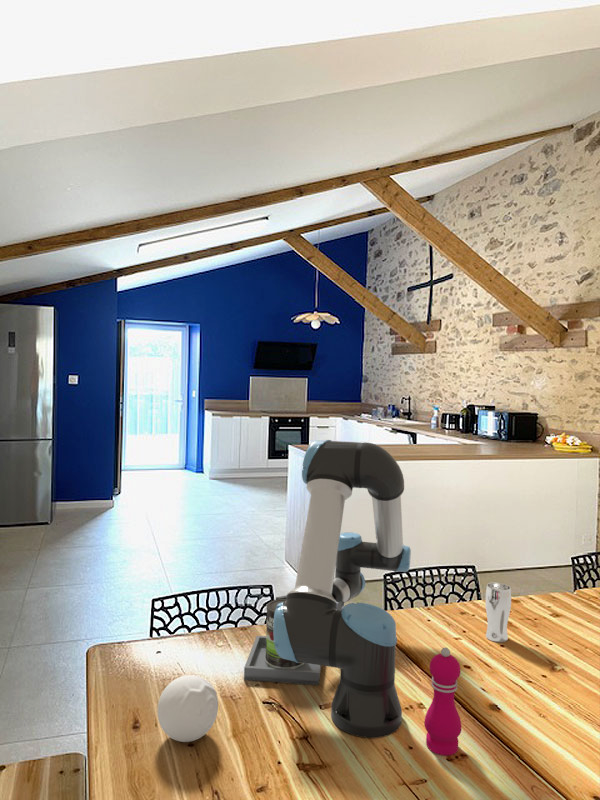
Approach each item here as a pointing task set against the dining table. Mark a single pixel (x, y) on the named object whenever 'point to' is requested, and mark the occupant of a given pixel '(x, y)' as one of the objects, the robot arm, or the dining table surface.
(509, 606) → the beer glass
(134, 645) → the dining table surface
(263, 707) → the dining table surface
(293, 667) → the coffee can
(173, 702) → the decorative ball
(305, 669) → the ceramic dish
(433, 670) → the pepper mill
